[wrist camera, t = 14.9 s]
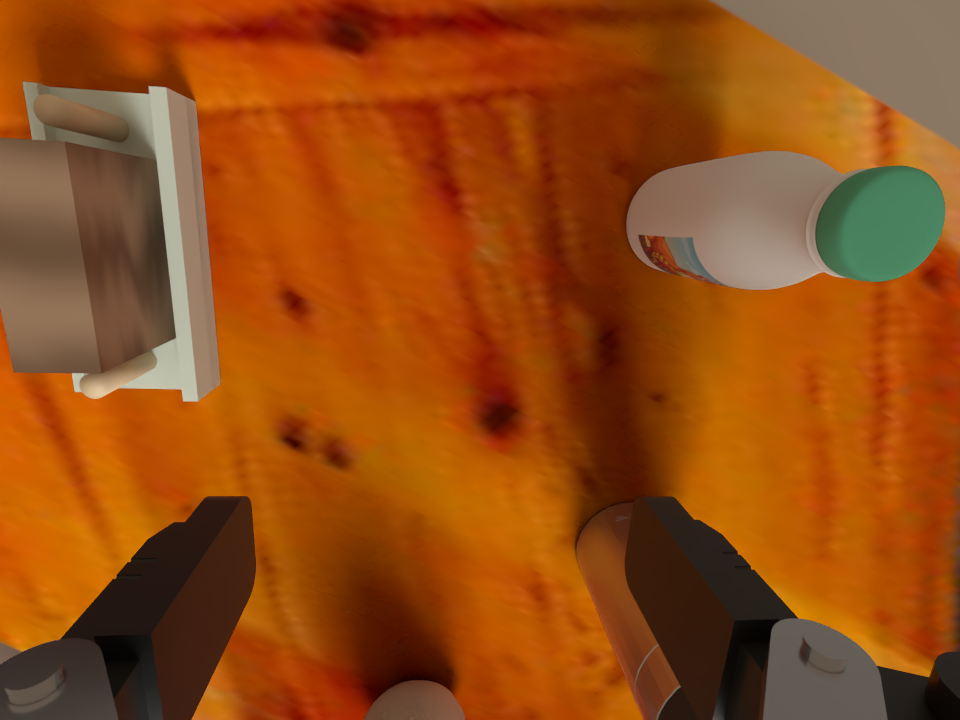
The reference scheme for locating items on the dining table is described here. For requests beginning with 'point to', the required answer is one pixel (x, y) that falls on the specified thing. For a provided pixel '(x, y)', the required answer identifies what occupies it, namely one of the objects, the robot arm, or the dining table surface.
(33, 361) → the wooden block
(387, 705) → the grey bottle
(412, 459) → the dining table surface
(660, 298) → the dining table surface
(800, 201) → the milk bottle
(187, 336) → the ledge
